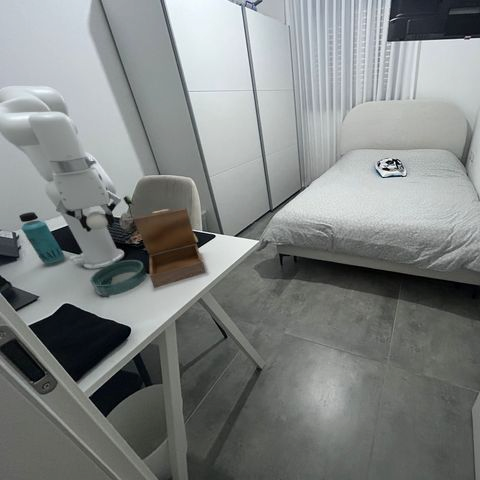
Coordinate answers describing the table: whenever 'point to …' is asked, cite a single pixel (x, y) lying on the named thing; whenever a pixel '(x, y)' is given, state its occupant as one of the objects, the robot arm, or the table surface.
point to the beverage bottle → (41, 238)
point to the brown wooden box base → (175, 265)
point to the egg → (97, 220)
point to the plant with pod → (129, 223)
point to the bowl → (105, 275)
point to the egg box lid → (165, 230)
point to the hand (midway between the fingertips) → (101, 227)
